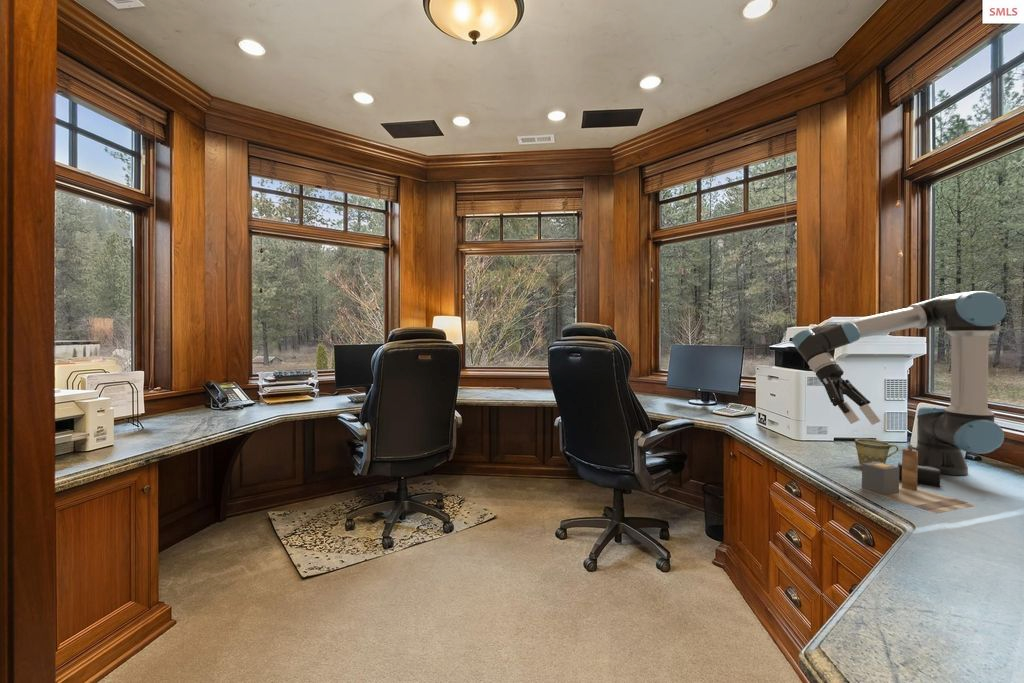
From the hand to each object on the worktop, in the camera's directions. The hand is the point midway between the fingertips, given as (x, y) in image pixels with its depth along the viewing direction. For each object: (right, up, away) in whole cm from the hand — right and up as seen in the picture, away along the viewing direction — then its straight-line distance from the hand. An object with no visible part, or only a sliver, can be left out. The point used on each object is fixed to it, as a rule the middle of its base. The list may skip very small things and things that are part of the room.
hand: (866, 422), depth 138 cm
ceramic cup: (+20, -21, +19) cm, 35 cm away
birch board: (+6, -21, -11) cm, 25 cm away
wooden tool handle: (+11, -20, -4) cm, 23 cm away
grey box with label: (-1, -20, -6) cm, 21 cm away
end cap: (+19, -22, +2) cm, 29 cm away
